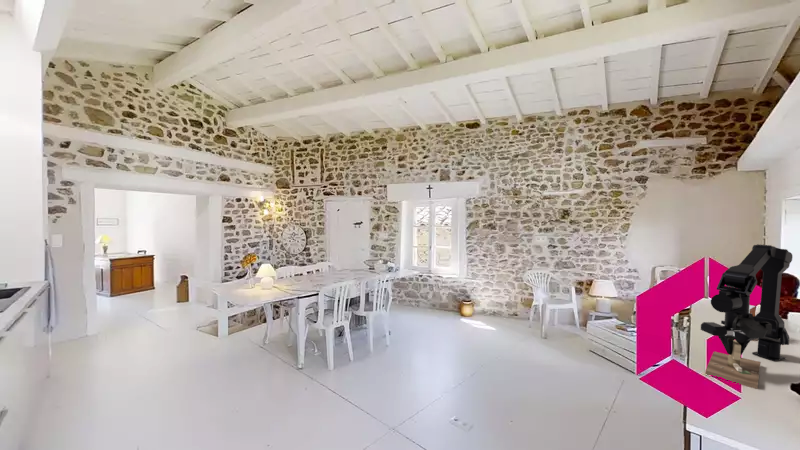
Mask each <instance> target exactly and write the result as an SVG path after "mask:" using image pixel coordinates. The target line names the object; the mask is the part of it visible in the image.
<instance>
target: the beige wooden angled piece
mask: <svg viewBox="0 0 800 450" xmlns="http://www.w3.org/2000/svg"><path fill="white" fill-rule="evenodd" d="M727 355H728V366H731V367H734V368H735V369H736V370H737V371H739V372H742V368H741V367H740V357H741V356H742V355H741V345H740V344H739V343H738V342H737V341H736V340H733V350H732V355H729V354H727Z"/></svg>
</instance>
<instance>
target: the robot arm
mask: <svg viewBox="0 0 800 450" xmlns="http://www.w3.org/2000/svg"><path fill="white" fill-rule="evenodd" d="M792 261H793V253H791V252H790V251H789V250H788V249H786V248H779V247H776V246H774V245H772V244H771V245H770V244H759V243H758V244H754V245H753V246H752V248H751V251H749V253H748V254H747V255H746V256H745V257H744V258H743V260H742V261H741V262H740V263H739V264H737V265H733V266H730V267H728V268H727V269H726V270H725V271H724V272H723V273H722V274H721V277H720V279H719V282H718V284H717V286H716V290H718V293H717V294H715V295H713V296H712V297H711V299H710V304H711V307H712V308H713V309H714V310H716V311H717V312H719V313H724V320H720V324H719V323H717V322H715V321H710V322H709V321H708V322H707V321H706V322H705V321H704V322H702V323H701V324H700V331H702V332H705V333H707V334H709V335H711V336H716V337H718V338H719V340H720V342H721V344H722V346H723V347H724V349H725V351H726V354H727V355H732V350H733V340H736V341H737V342H738V343H739V344H740V345H741V356H742V355H743V353H744V351H745V350H746V349H747V347H748V345H749V344H750V342H751V341H753V340H756V339H757V351H754V352H751V354H752V355H754V356H757V357H761V358H764V359H766V360H770V361H773V362H777V361H782V360H786V357H785V356H781V349H782V348H781V347H782V346H785V345H786V346H789V344H790V335H789V333H788V331H787V329H786V327H785V320H784V319H783V318H782V317H781V315H780V313H779V312H780V300H781V289H782V277H783V276H782V275H783V274H784V272H785V271H786V270H788V269H789V268H790V264H791V263H792ZM760 270H761V271H762V281H761V295H760V306H759V312H758V313H756V314H755V316H754V317H753V314H751V313H749V305H751V304H750V300H751V295H752V293H753V291H754V290H755V288H756V286H757V284H758V280H757V277H756V275H757V274H758V272H759V271H760ZM733 332H734V334H735V336H733Z"/></svg>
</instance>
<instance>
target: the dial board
mask: <svg viewBox="0 0 800 450" xmlns="http://www.w3.org/2000/svg"><path fill="white" fill-rule="evenodd" d="M728 355H729V354H728V353H723V352H717V351H713V352H712V354H711V357H710V359H709V362H708V364H707V365H706V369H705V372H704V374H707V375H713V376H717V377H722V378H724V379H726V380H730V381H732V382H731V383H733V382H736V383H735V384H737V383H739V384H738V385H740V384H741V386H744V387H749V388H751V389H755V390H758V389H759V387H758V386H759V379H760V371H761V370H760V369H761V361H756V360H754V359H753V360H752V359H748V358H745V357H741V356H740V367H741V368H742V372H739V371H737V370H736V369H735V368H734V367H731V366H728ZM707 375H706V376H707Z"/></svg>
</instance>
